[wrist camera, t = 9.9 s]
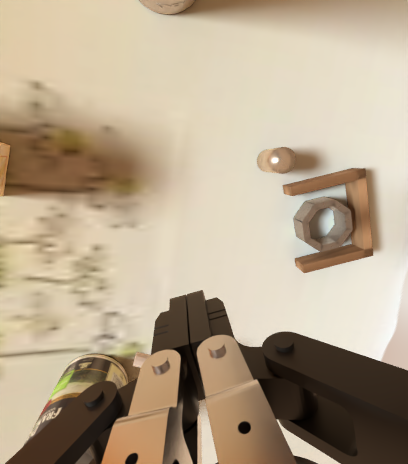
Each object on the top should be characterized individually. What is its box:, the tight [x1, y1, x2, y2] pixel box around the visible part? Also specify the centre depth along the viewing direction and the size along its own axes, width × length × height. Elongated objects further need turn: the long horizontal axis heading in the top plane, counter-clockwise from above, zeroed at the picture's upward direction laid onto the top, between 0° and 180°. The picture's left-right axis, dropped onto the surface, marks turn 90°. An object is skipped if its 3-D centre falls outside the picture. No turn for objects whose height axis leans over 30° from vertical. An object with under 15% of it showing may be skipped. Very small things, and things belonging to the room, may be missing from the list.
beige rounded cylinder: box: [257, 147, 296, 173], centre depth 37 cm, size 3×3×6 cm
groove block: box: [283, 168, 373, 273], centre depth 41 cm, size 12×10×3 cm
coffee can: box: [23, 354, 128, 464], centre depth 38 cm, size 10×10×14 cm
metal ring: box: [293, 197, 353, 252], centre depth 41 cm, size 7×7×3 cm
